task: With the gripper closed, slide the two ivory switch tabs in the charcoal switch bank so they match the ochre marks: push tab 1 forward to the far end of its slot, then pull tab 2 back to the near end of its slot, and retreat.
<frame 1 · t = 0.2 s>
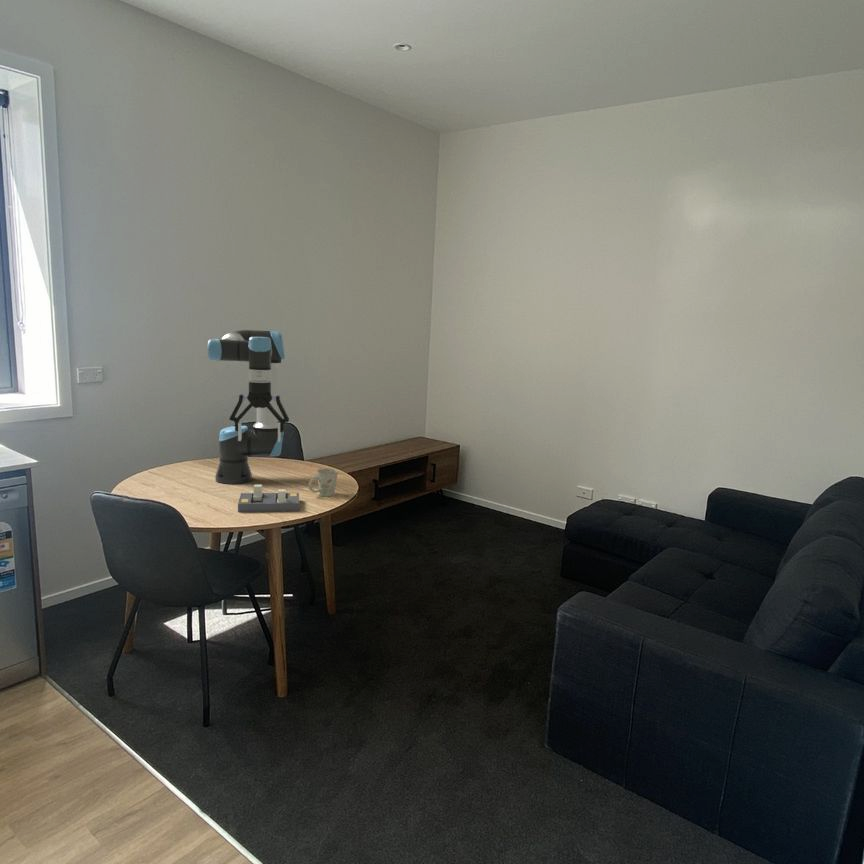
hand: (259, 440, 219), 27 cm above the table, fingers open, 13 cm apart
switch bank: (269, 505, 234), on the table
mug: (322, 495, 251), on the table
tab 1: (257, 492, 236), point 4 cm above the table, slide at 0.0 cm
tab 2: (281, 497, 231), point 4 cm above the table, slide at 7.0 cm
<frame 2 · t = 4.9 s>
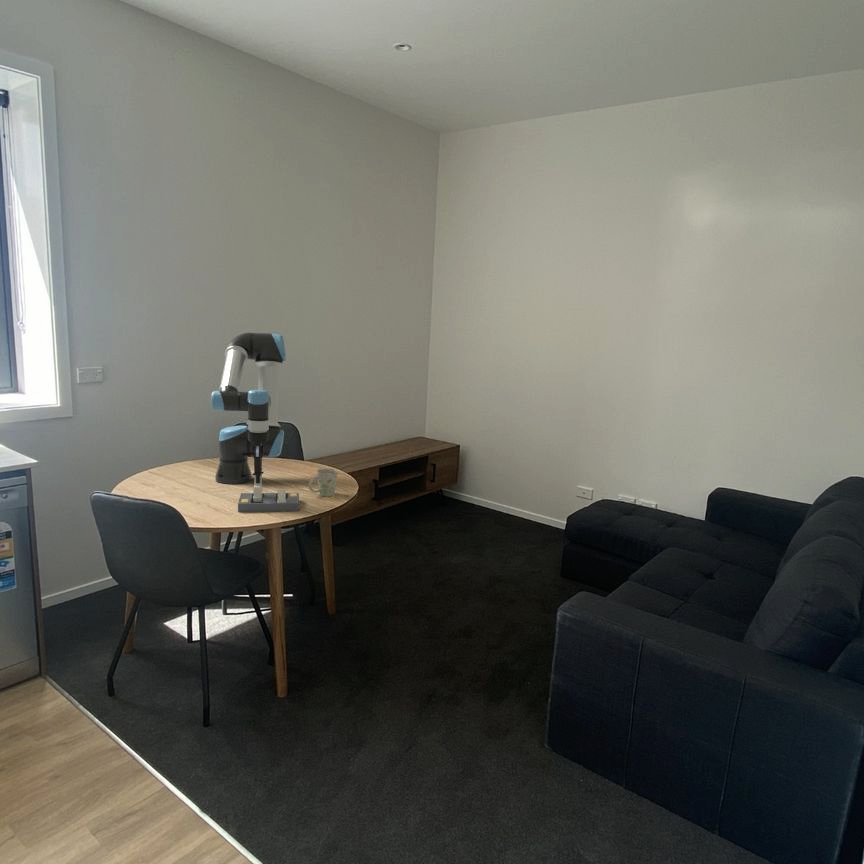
hand: (258, 490, 237), 5 cm above the table, fingers closed
tab 1: (257, 493, 235), point 4 cm above the table, slide at 1.1 cm, touching gripper
everything else where it was.
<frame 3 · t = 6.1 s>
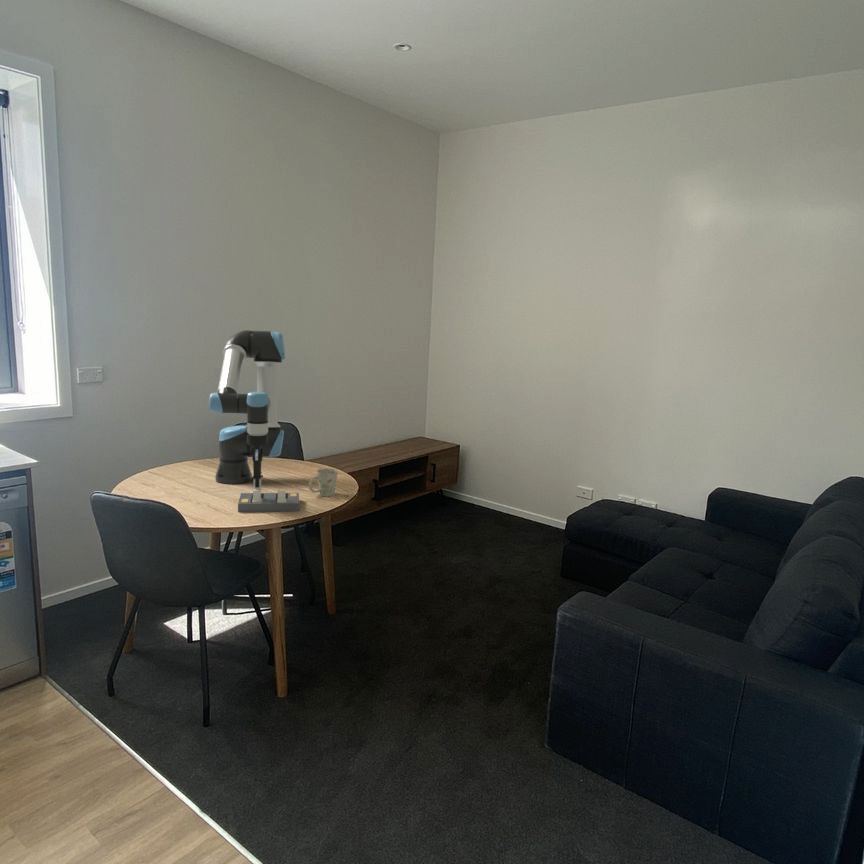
hand: (257, 494, 232), 4 cm above the table, fingers closed
tab 1: (257, 496, 230), point 4 cm above the table, slide at 5.9 cm, touching gripper
everything else where it was.
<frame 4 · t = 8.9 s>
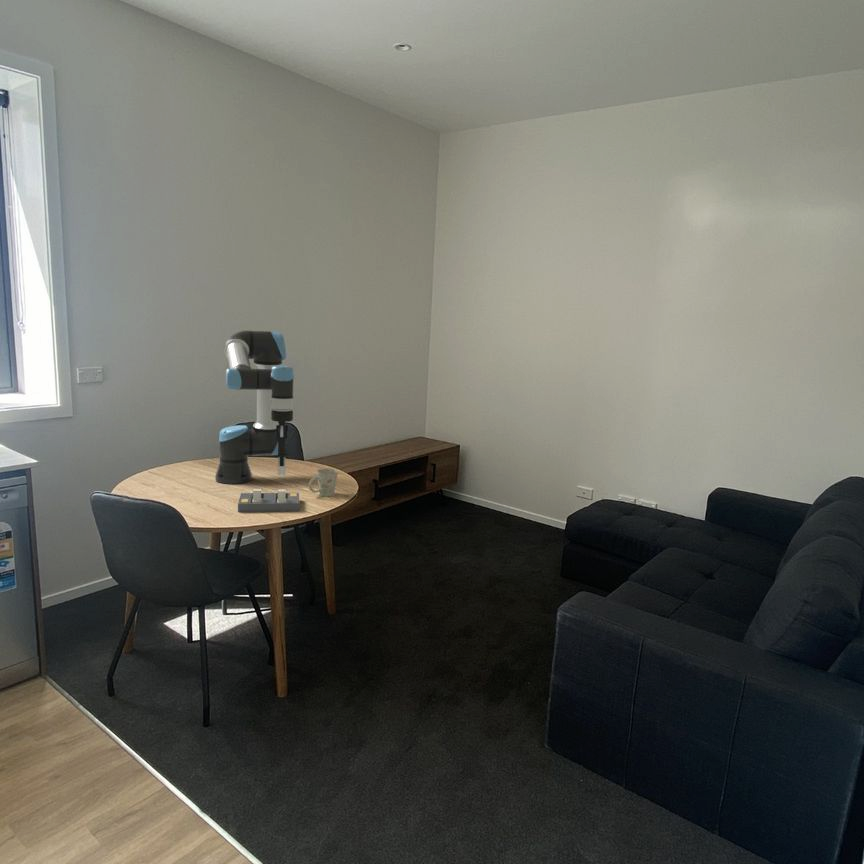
hand: (281, 474, 222), 15 cm above the table, fingers closed
tab 1: (257, 496, 230), point 4 cm above the table, slide at 5.9 cm
everything else where it was.
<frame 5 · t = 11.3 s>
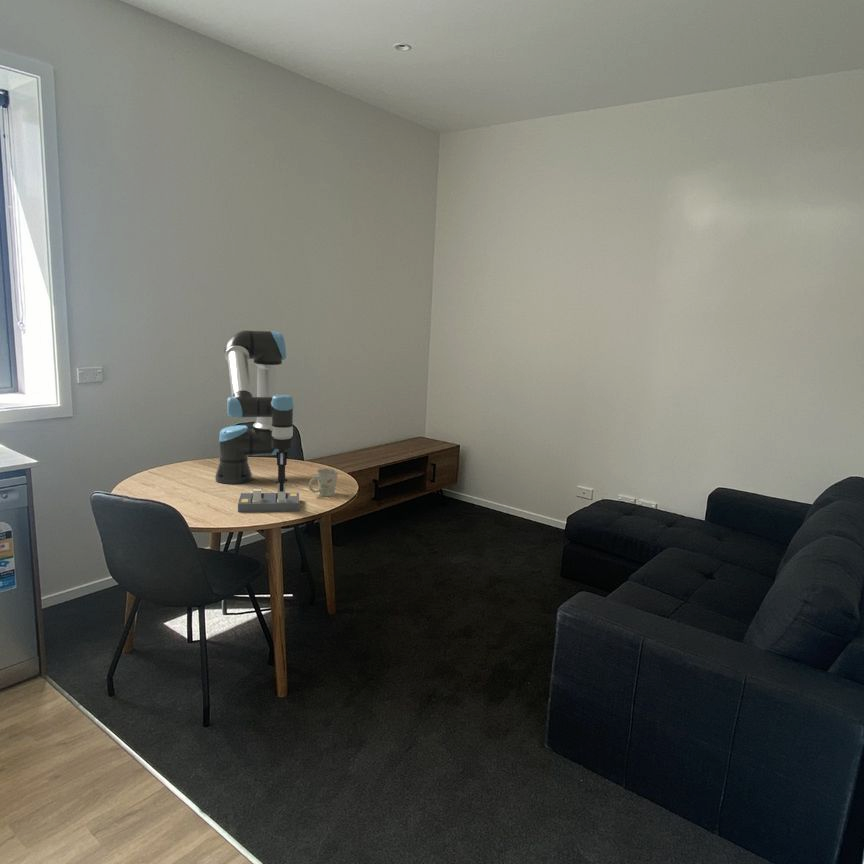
hand: (281, 498, 230), 4 cm above the table, fingers closed
tab 2: (281, 497, 231), point 4 cm above the table, slide at 6.7 cm, touching gripper
everything else where it was.
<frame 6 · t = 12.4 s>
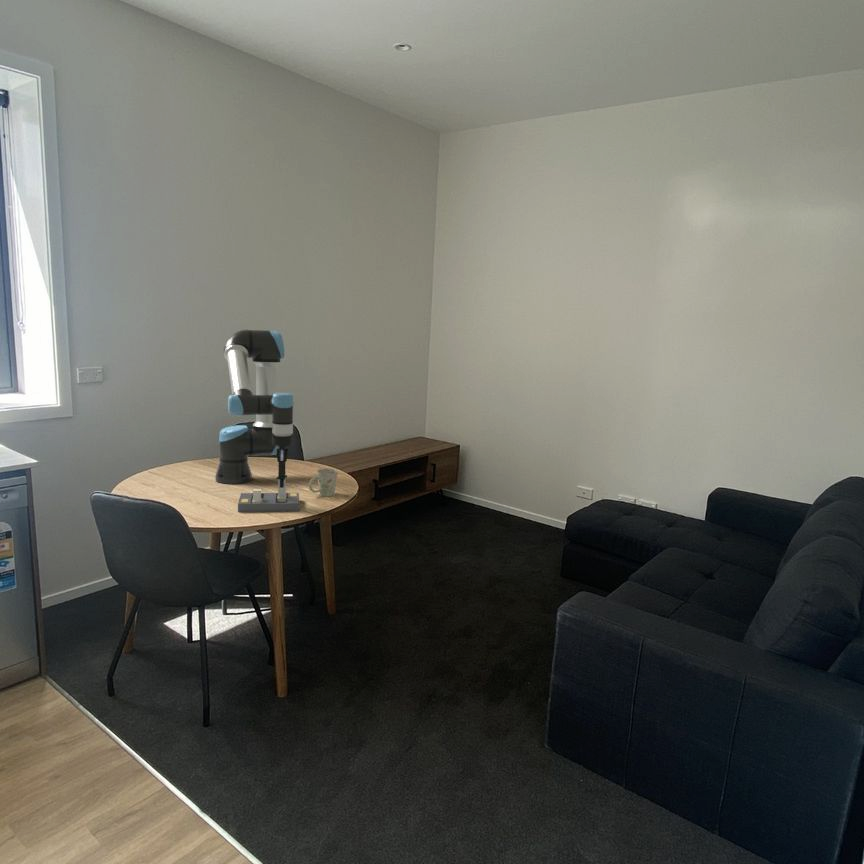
hand: (281, 494, 234), 4 cm above the table, fingers closed
tab 2: (281, 493, 236), point 4 cm above the table, slide at 1.8 cm, touching gripper
everything else where it was.
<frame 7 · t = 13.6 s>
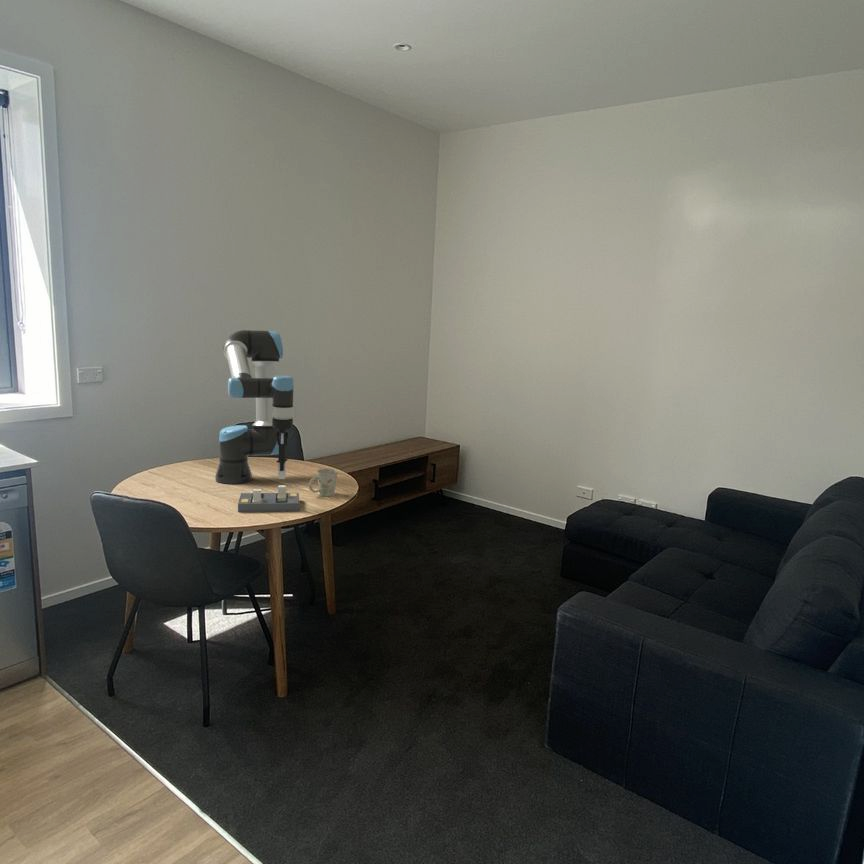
hand: (281, 478, 234), 11 cm above the table, fingers closed
tab 2: (281, 493, 237), point 4 cm above the table, slide at 1.1 cm
everything else where it was.
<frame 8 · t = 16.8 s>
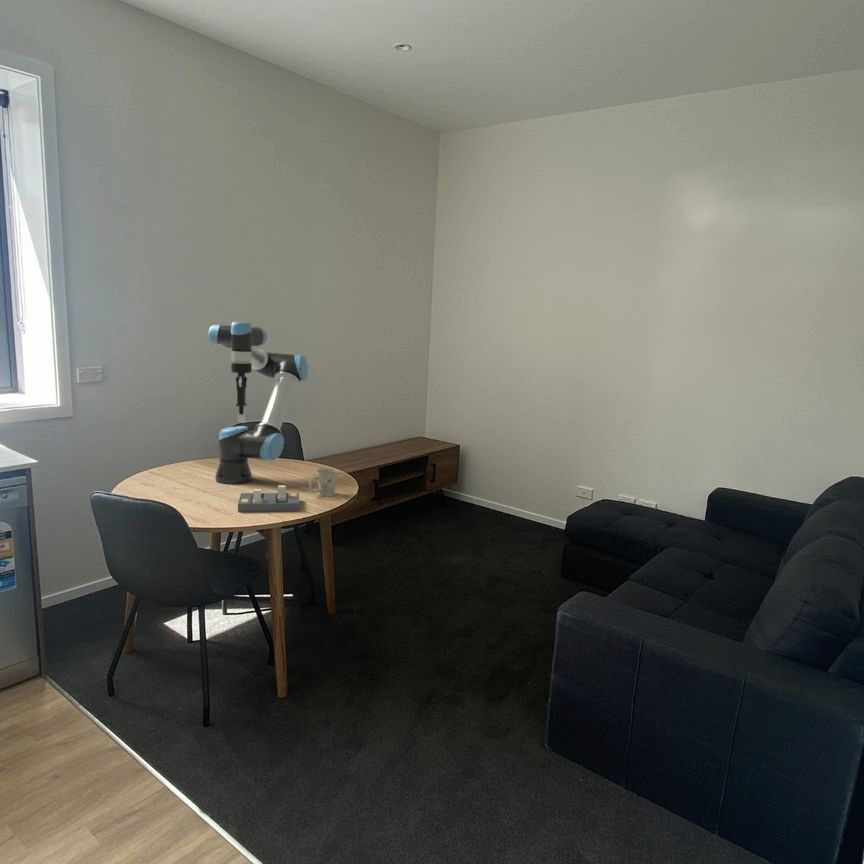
hand: (241, 422, 242), 29 cm above the table, fingers closed
nothing on the table moved.
at the end: tab 1 slide at 5.9 cm; tab 2 slide at 1.1 cm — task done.
